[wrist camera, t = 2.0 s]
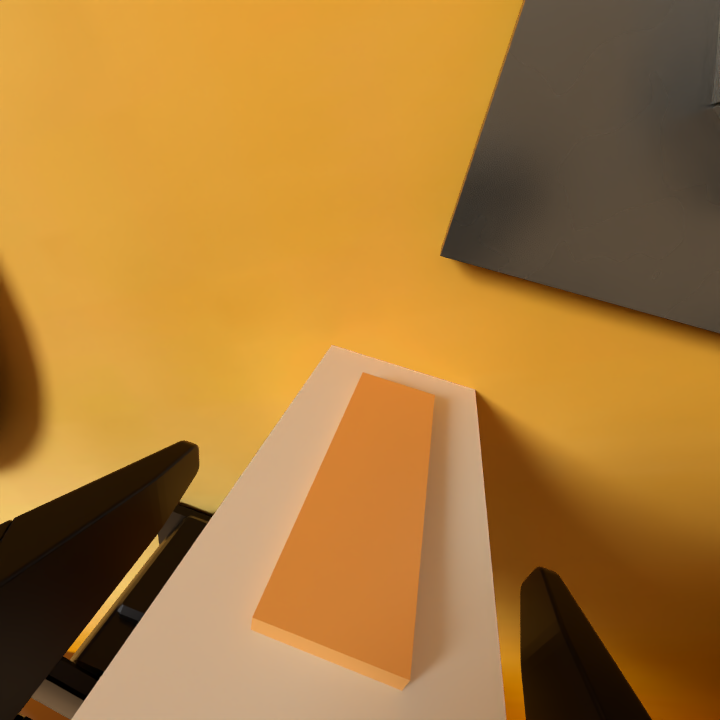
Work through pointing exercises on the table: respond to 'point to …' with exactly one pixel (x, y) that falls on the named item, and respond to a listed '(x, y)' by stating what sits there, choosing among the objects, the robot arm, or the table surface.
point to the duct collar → (603, 157)
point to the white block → (332, 570)
